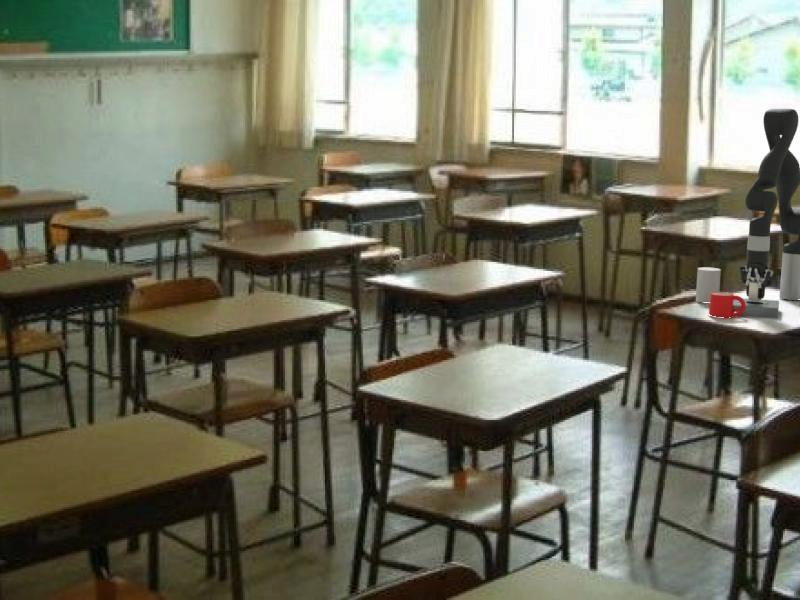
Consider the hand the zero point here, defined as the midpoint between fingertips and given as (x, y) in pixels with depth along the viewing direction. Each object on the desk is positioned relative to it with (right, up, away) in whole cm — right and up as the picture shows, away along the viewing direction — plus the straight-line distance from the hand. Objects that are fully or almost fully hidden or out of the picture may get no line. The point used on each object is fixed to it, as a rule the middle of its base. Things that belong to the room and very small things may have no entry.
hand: (755, 297), depth 454 cm
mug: (-12, -7, -7) cm, 15 cm away
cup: (-12, -2, +22) cm, 25 cm away
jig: (0, -5, +1) cm, 5 cm away
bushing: (0, -1, 0) cm, 1 cm away
